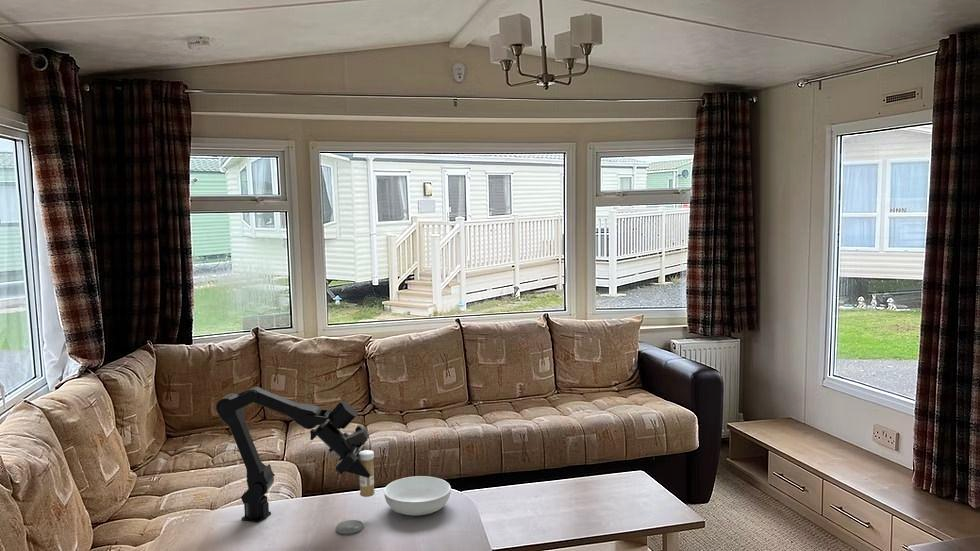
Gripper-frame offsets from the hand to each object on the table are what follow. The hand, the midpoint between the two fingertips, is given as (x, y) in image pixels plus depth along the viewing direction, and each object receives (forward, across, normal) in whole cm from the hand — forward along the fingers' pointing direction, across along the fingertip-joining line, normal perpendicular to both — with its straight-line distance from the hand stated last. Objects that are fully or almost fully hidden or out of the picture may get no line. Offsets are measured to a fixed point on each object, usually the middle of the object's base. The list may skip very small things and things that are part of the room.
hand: (371, 473), depth 206 cm
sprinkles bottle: (+4, 0, +6) cm, 7 cm away
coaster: (+6, -9, +13) cm, 17 cm away
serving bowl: (+19, +4, 0) cm, 20 cm away
